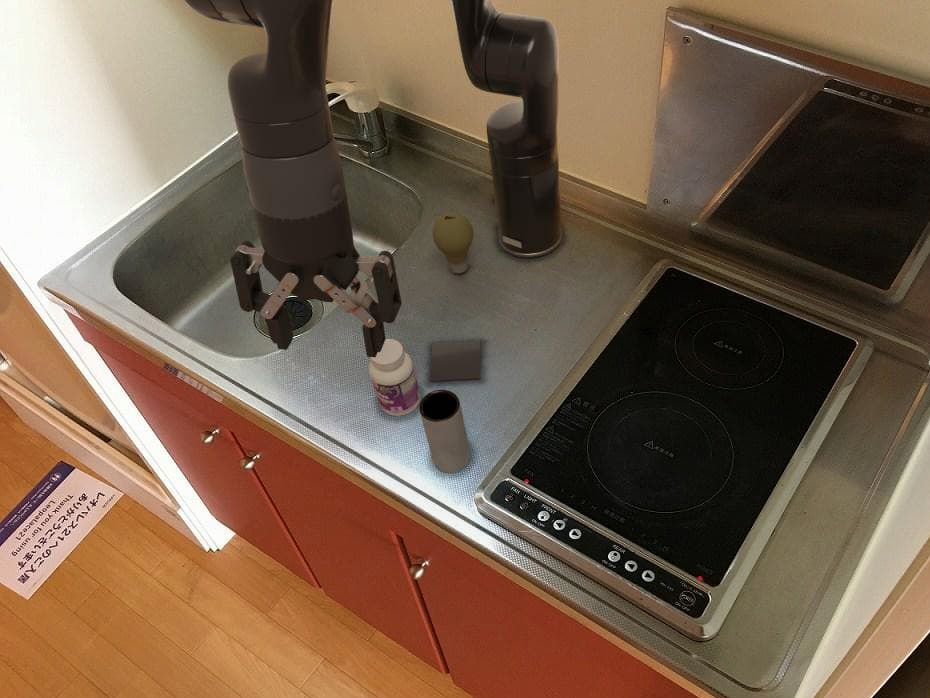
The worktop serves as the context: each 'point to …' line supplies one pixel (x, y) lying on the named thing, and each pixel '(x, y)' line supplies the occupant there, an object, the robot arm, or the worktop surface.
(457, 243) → the light bulb
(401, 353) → the pill bottle
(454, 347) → the metal coaster
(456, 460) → the grey hollow cylinder
